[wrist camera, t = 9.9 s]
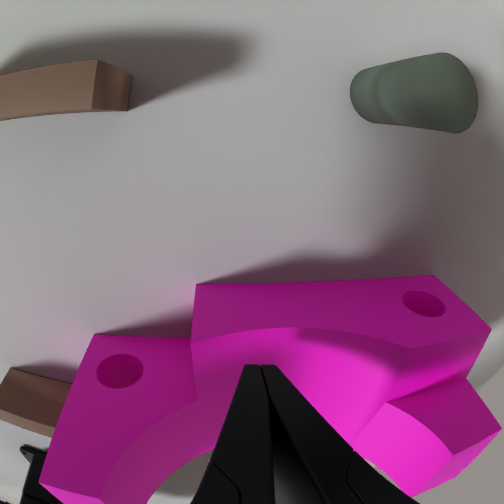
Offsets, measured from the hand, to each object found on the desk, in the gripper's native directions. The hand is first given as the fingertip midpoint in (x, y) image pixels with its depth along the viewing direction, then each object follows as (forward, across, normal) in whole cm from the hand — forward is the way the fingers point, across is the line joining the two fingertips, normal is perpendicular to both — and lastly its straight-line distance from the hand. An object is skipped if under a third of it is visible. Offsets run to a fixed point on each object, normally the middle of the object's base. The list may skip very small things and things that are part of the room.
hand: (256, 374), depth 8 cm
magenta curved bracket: (+4, -1, +2) cm, 5 cm away
